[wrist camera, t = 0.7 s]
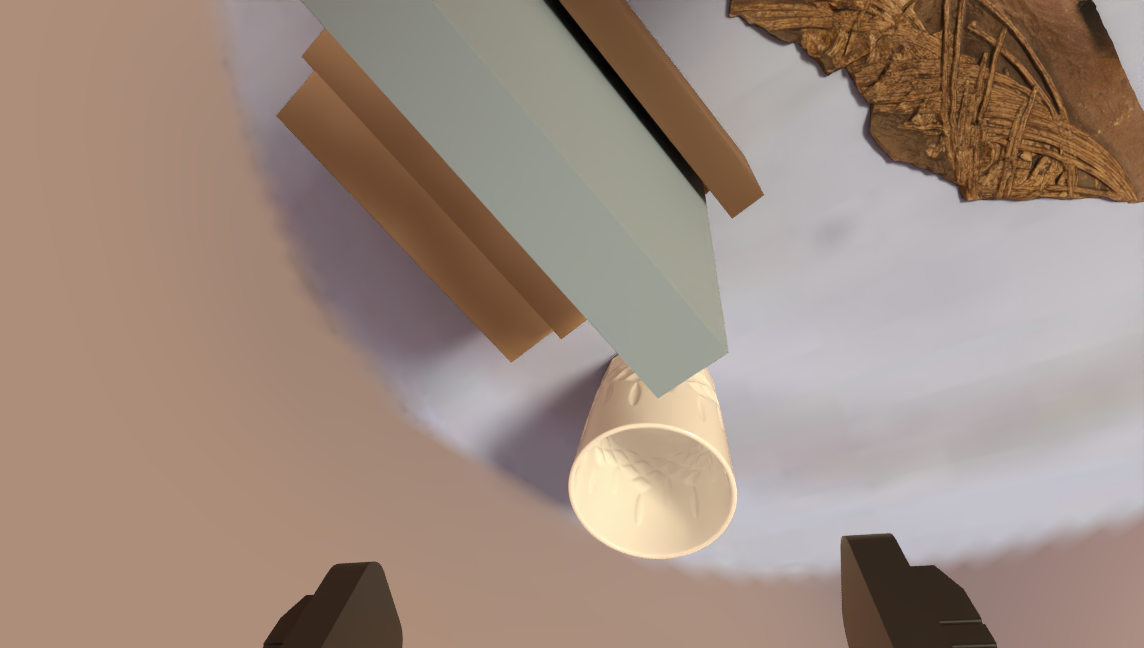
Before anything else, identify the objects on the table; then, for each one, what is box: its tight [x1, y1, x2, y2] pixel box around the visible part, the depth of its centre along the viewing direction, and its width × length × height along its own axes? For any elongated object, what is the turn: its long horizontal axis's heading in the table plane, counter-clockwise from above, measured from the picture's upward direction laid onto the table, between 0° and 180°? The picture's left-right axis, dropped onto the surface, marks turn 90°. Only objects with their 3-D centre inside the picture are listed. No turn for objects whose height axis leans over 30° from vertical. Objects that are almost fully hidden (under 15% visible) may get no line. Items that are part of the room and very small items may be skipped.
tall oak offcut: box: [302, 28, 587, 339], centre depth 29 cm, size 3×14×10 cm, turn 42°
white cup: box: [568, 355, 737, 559], centre depth 35 cm, size 8×8×10 cm
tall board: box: [301, 0, 729, 398], centre depth 23 cm, size 2×14×20 cm, turn 42°
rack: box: [559, 0, 764, 218], centre depth 31 cm, size 16×16×8 cm
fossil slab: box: [729, 0, 1144, 203], centre depth 30 cm, size 26×11×1 cm, turn 53°
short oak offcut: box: [277, 71, 553, 362], centre depth 31 cm, size 3×14×8 cm, turn 41°
